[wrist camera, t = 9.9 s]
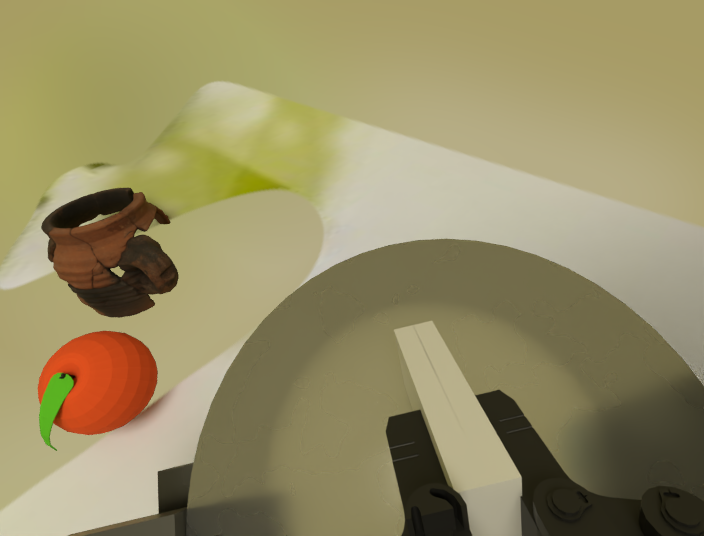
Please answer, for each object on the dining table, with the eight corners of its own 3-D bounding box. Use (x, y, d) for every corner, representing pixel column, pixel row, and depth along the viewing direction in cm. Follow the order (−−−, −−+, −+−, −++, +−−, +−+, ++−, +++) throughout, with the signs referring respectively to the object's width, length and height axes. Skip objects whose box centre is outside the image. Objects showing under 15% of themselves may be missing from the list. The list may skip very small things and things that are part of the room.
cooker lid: (589, 208, 19) (610, 187, 17) (898, 793, 11) (994, 864, 9) (89, 325, 19) (58, 316, 17) (57, 995, 11) (-5, 1105, 9)
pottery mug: (65, 309, 33) (-1, 230, 28) (152, 248, 39) (112, 174, 34) (156, 350, 28) (96, 262, 23) (239, 273, 34) (207, 190, 29)
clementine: (145, 459, 28) (69, 475, 21) (66, 431, 29) (-29, 437, 22) (190, 352, 30) (135, 336, 24) (115, 330, 31) (43, 308, 25)
